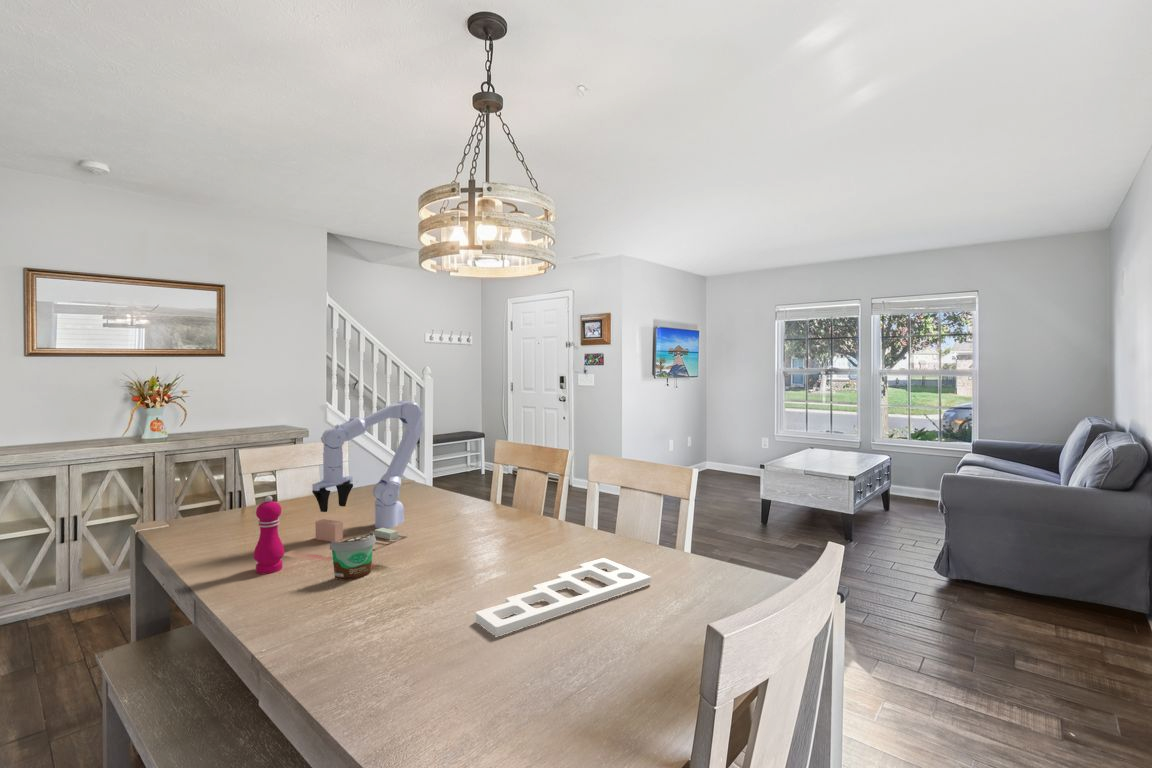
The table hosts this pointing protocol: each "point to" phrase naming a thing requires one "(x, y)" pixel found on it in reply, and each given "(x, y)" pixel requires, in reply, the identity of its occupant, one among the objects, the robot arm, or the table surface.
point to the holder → (560, 596)
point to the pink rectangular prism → (329, 530)
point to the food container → (353, 557)
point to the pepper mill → (268, 538)
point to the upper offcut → (386, 533)
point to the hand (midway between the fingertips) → (333, 508)
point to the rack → (387, 541)
